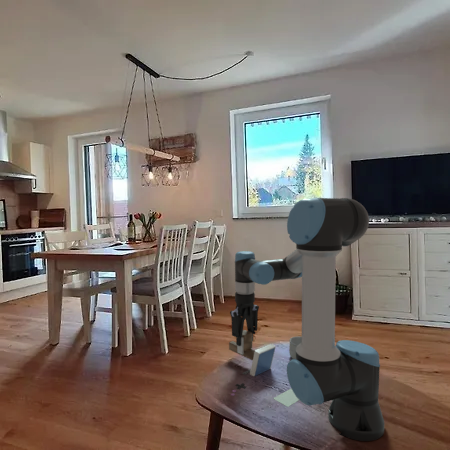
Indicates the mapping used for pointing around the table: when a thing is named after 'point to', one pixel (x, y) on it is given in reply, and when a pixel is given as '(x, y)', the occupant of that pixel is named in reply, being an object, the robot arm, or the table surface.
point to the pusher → (247, 345)
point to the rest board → (287, 398)
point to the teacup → (294, 345)
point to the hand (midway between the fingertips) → (244, 351)
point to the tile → (262, 359)
